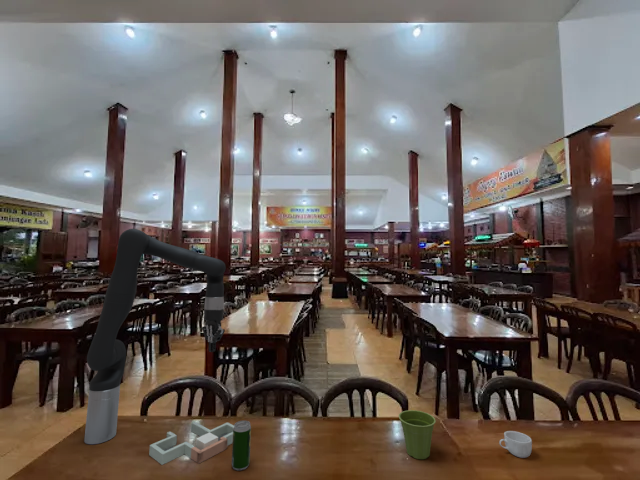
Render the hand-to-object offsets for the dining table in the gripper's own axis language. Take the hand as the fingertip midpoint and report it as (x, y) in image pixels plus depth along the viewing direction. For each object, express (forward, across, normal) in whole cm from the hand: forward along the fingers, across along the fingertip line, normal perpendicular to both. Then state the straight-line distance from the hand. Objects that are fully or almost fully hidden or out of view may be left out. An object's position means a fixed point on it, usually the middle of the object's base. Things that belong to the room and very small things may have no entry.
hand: (212, 351), depth 123 cm
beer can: (+27, +32, -10) cm, 43 cm away
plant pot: (+27, +73, +30) cm, 83 cm away
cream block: (+27, +17, -12) cm, 34 cm away
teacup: (+28, +99, +51) cm, 114 cm away
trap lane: (+27, +11, -12) cm, 32 cm away
